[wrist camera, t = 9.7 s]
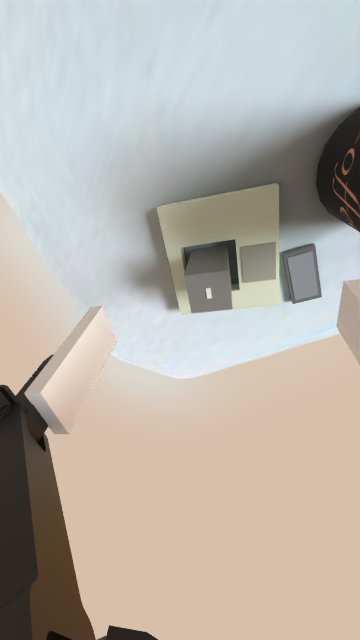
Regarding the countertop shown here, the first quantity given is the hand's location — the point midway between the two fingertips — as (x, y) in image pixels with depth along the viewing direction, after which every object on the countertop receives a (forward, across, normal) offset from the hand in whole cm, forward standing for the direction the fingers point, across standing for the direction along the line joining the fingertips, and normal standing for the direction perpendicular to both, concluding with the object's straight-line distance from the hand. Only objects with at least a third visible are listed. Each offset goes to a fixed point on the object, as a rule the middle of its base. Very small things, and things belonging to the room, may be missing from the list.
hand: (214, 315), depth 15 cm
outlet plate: (+20, 0, -4) cm, 20 cm away
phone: (+20, +10, -8) cm, 23 cm away
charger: (+20, -2, -5) cm, 21 cm away
